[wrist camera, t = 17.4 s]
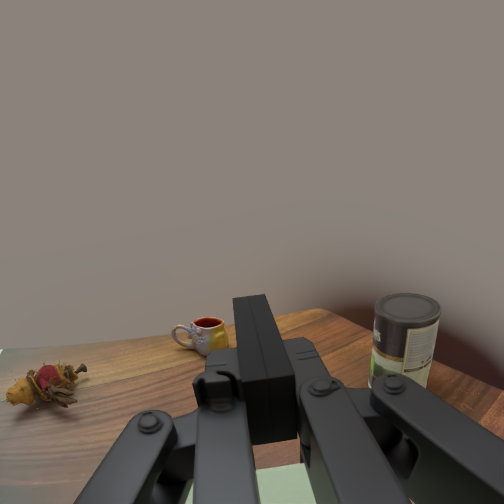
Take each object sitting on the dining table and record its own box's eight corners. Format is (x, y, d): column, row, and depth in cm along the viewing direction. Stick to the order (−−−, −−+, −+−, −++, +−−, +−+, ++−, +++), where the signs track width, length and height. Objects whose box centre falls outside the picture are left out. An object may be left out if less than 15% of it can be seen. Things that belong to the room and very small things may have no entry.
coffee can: (363, 400, 41) (371, 319, 38) (372, 364, 50) (377, 291, 47) (427, 404, 37) (445, 322, 34) (426, 367, 46) (437, 293, 43)
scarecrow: (27, 380, 48) (13, 348, 47) (91, 372, 54) (79, 339, 52) (5, 429, 33) (-16, 392, 31) (82, 425, 38) (63, 386, 36)
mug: (233, 342, 65) (229, 314, 63) (224, 359, 58) (219, 329, 57) (181, 340, 67) (176, 313, 66) (169, 355, 61) (162, 327, 59)
